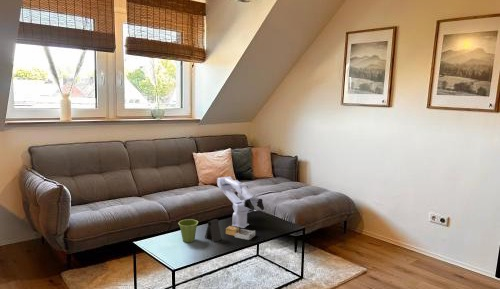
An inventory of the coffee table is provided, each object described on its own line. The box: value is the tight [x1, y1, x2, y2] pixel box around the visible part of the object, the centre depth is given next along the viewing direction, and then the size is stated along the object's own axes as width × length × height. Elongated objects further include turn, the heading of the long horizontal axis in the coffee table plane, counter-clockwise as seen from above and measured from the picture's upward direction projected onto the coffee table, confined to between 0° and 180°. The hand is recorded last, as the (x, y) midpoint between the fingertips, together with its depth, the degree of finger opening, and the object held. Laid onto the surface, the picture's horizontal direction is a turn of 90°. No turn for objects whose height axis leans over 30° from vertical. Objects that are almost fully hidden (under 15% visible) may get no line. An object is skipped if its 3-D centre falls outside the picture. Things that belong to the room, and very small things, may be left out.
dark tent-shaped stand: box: [204, 218, 222, 243], centre depth 224 cm, size 9×6×12 cm, turn 46°
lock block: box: [225, 225, 240, 237], centre depth 233 cm, size 7×5×4 cm
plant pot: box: [178, 218, 199, 243], centre depth 221 cm, size 12×12×11 cm
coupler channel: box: [234, 228, 256, 241], centre depth 230 cm, size 10×9×3 cm
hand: (258, 209), depth 229 cm, fingers open, 7 cm apart
